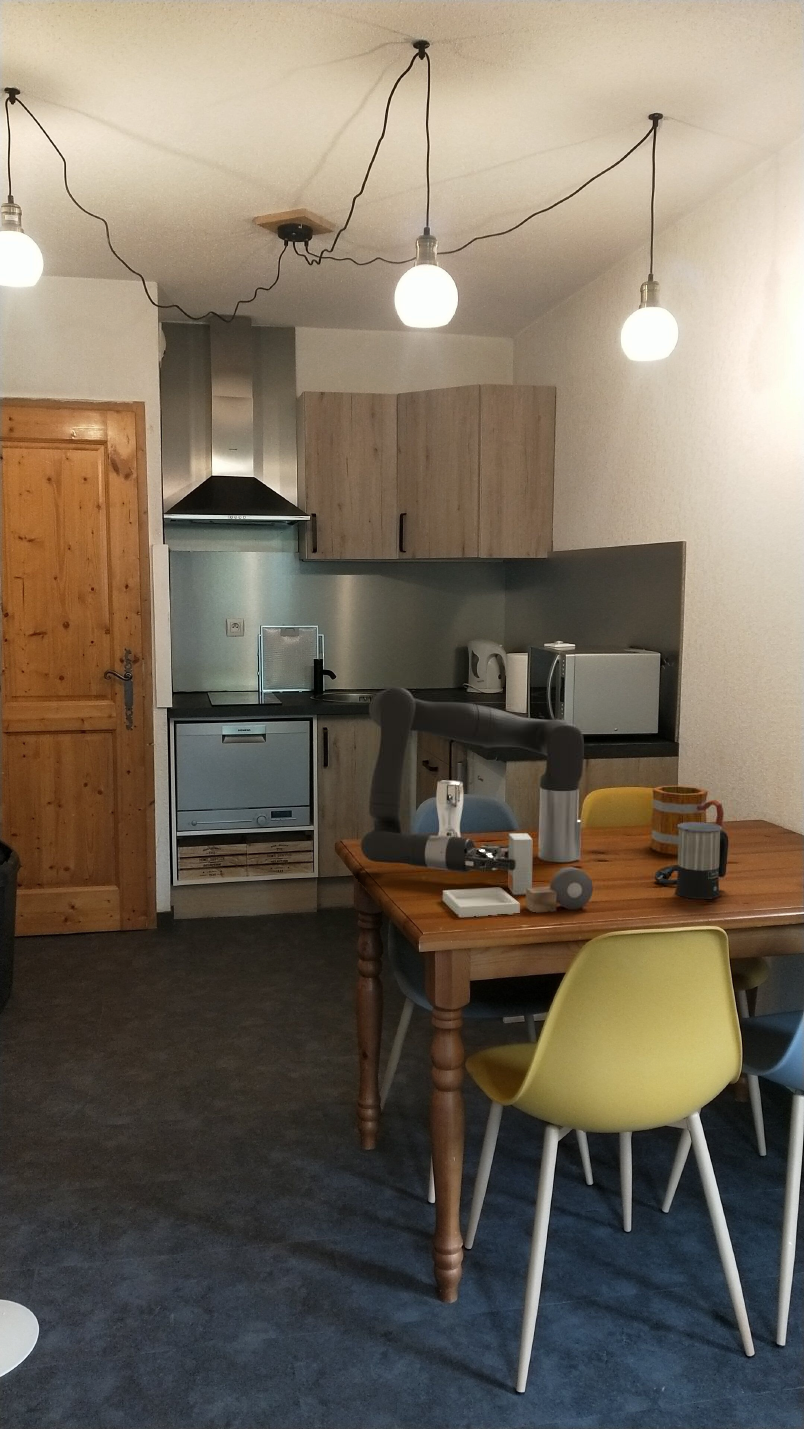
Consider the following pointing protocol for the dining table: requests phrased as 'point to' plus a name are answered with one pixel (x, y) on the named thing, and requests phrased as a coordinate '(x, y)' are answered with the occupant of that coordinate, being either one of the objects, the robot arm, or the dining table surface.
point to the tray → (480, 902)
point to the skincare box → (520, 863)
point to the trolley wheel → (572, 887)
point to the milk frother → (698, 861)
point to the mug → (678, 814)
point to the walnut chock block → (541, 899)
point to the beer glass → (449, 807)
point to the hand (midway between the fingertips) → (520, 860)
